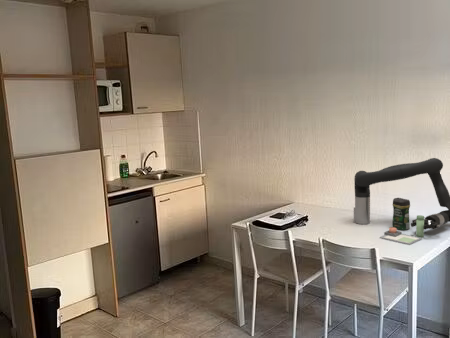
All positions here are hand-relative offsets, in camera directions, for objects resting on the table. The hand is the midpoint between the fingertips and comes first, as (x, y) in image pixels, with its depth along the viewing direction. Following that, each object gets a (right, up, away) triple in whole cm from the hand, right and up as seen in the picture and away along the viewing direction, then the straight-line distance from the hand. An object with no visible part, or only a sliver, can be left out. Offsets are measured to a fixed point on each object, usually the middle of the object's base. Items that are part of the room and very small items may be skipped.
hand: (417, 226), depth 250 cm
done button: (-12, -4, +6) cm, 14 cm away
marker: (+2, -6, +2) cm, 7 cm away
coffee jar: (-2, -4, +20) cm, 20 cm away
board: (-9, -7, +1) cm, 12 cm away
